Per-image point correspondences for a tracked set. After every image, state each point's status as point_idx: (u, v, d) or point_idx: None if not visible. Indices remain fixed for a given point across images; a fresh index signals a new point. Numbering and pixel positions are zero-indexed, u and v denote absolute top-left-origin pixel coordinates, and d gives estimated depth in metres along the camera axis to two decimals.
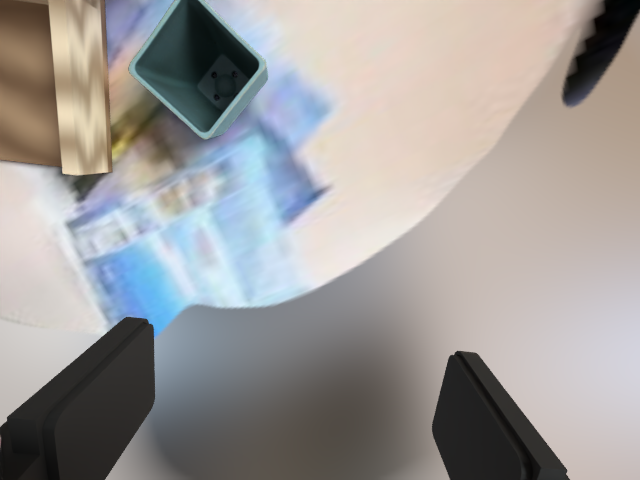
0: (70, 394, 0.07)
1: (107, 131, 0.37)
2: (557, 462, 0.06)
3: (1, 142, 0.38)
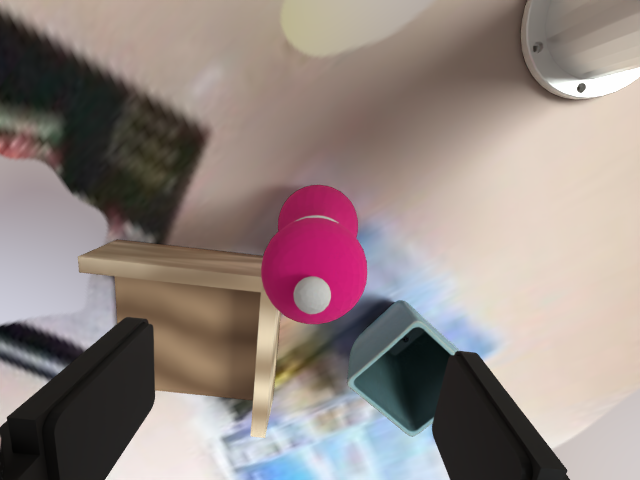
0: (70, 394, 0.07)
1: (275, 368, 0.38)
2: (557, 462, 0.06)
3: (171, 378, 0.39)
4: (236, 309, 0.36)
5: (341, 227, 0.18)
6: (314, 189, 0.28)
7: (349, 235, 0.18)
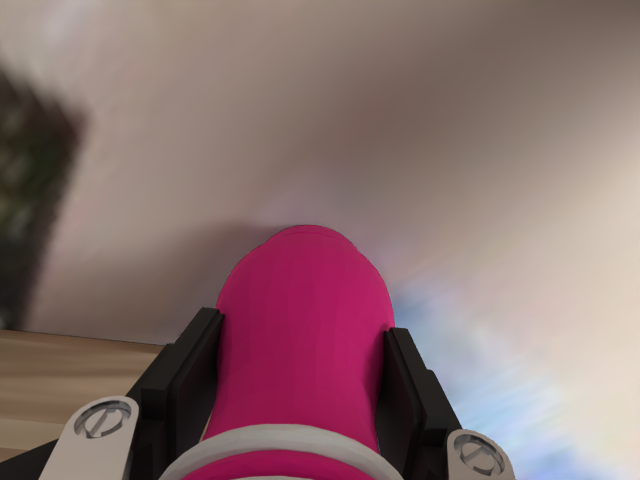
0: (182, 371, 0.08)
1: None
2: (444, 412, 0.07)
3: None
4: None
5: None
6: (293, 251, 0.12)
7: None
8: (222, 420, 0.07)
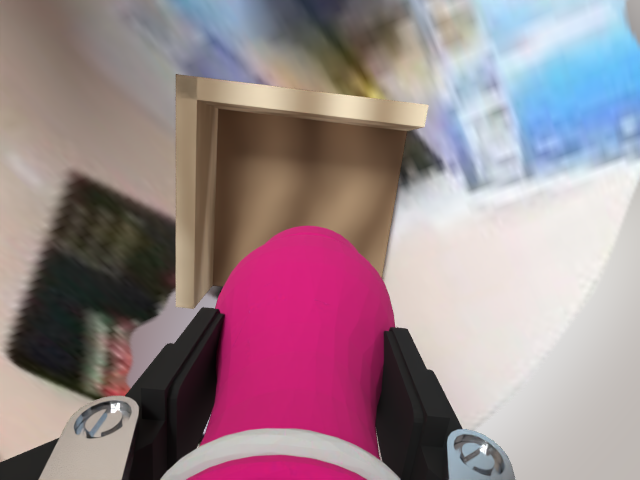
0: (182, 370, 0.08)
1: None
2: (444, 412, 0.07)
3: (367, 243, 0.31)
4: (270, 154, 0.29)
5: None
6: (293, 252, 0.11)
7: None
8: (221, 424, 0.07)
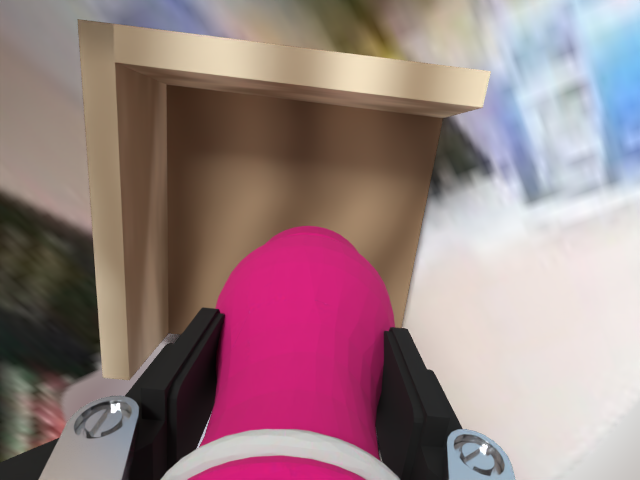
0: (182, 370, 0.08)
1: None
2: (444, 412, 0.07)
3: (382, 277, 0.22)
4: (244, 152, 0.20)
5: None
6: (293, 252, 0.11)
7: None
8: (221, 424, 0.07)
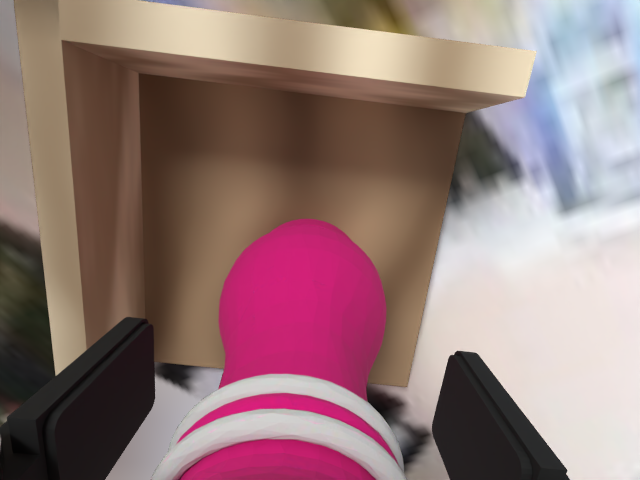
0: (70, 394, 0.07)
1: None
2: (557, 462, 0.06)
3: (392, 297, 0.19)
4: (231, 153, 0.17)
5: None
6: (292, 240, 0.13)
7: None
8: (233, 379, 0.08)
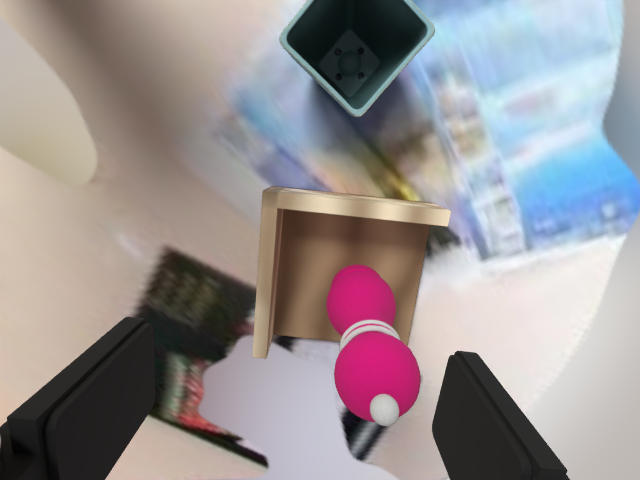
0: (70, 394, 0.07)
1: None
2: (557, 462, 0.06)
3: (398, 302, 0.39)
4: (323, 234, 0.37)
5: (400, 345, 0.22)
6: (359, 279, 0.32)
7: (407, 352, 0.22)
8: (353, 323, 0.28)
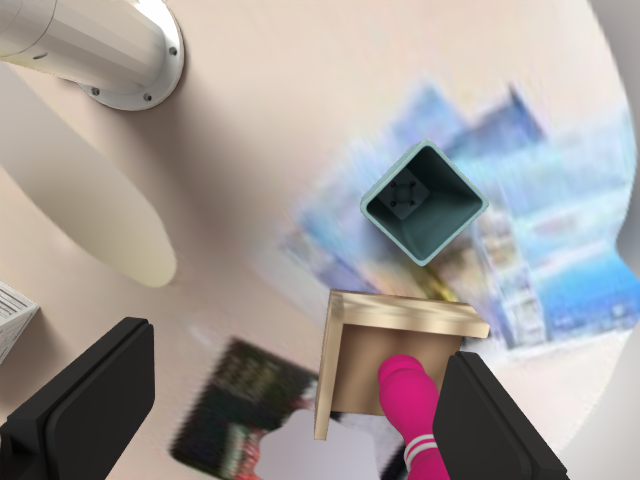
0: (70, 394, 0.07)
1: (434, 301, 0.42)
2: (557, 462, 0.06)
3: (436, 384, 0.45)
4: (373, 330, 0.43)
5: None
6: (410, 380, 0.38)
7: None
8: (414, 433, 0.33)
